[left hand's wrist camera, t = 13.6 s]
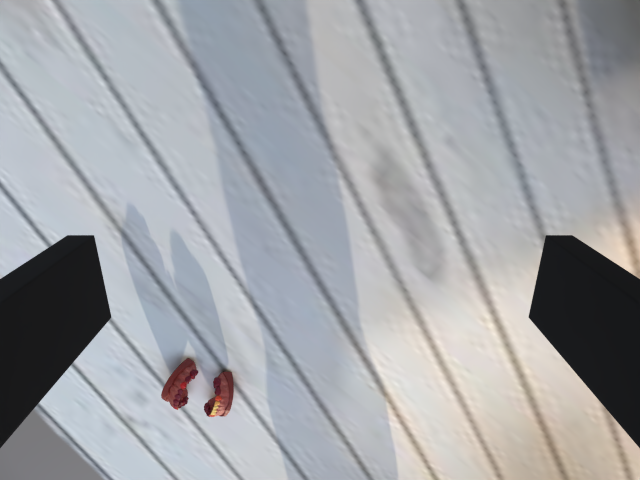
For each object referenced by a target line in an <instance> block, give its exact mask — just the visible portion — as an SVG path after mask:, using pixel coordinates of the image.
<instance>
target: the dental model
mask: <svg viewBox="0 0 640 480" xmlns="http://www.w3.org/2000/svg"><path fill="white" fill-rule="evenodd" d="M197 373H198V371H197V370H196V366H195V363H194V361H192V360H190V359H189V358H187V359H186V360H185V361H184V362H183V363H181V364H180V365H179V367H178V368H177V369H176V370H175V371H174V372H173V374H172V375H171V376H170V378H169V379H168V381H167V382H166V384H165V386H164V388H163V391H162V395H161V396H162V399H163V400H165V401H167V402H168V401H169V402H170V404H171V406H172V407H173V408H174V409H177V410H178V408H181V407H182V406H185V404H187V402H188V399H189V398H188V397H187V396H188V392H187V389H186V385H187V384H188V383H189V382H190V381H191V379H195V376H196V375H197ZM213 383H214V388H216V389H215V390H216V391H215V394H216V395H217V396H216V397H214V398H212V399H210V400H208V403H206V404H205V406H204V410H205V412H206V414H207V416H209V417H214V416H218V415H219V416H226V415H227V414H228V413H229V411H230V409H231V405H232V400H233V377H232V372H223V373H221V374H220V375H219V376H218V377H216V378H215V379H214V381H213Z"/></svg>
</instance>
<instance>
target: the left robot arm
mask: <svg viewBox="0 0 640 480" xmlns="http://www.w3.org/2000/svg"><path fill="white" fill-rule="evenodd" d="M110 318H111V313H110V309H109V304H108V299H107V295H106V290H105V285H104V280H103V276H102V271H101V266H100V261H99V257H98V252H97V247H96V243H95V238H94V235H68V236H66V237H64V238H63V239H61V240H60V241H58V242H57V243H55V244H54V245H52V246H51V247H49V248H48V249H46V250H44V251H43V252H41V253H40V254H38V255H37V256H35V257H34V258H32V259H31V260H29V261H28V262H26V263H24V264H23V265H21V266H20V267H18V268H17V269H15V270H14V271H12V272H11V273H9V274H8V275H6V276H4V277H3V278H1V279H0V448H1V447H2V445H3V444H4V443H5V442H6V441H7V439H8V438H9V437H10V436H11V435H12V434H13V432H14V431H15V430H16V429H17V428H18V427H19V425H20V424H21V423H22V422H23V421H24V419H25V418H26V417H27V416H28V415H29V414H30V412H31V411H32V410H33V409H34V408H35V407H36V405H37V404H38V403H39V402H40V401H41V399H42V398H43V397H44V396H45V395H46V394H47V392H48V391H49V390H50V389H51V388H52V387H53V385H54V384H55V383H56V382H57V381H58V379H59V378H60V377H61V376H62V375H63V374H64V372H65V371H66V370H67V369H68V368H69V367H70V365H71V364H72V363H73V362H74V361H75V359H76V358H77V357H78V356H79V355H80V354H81V352H82V351H83V350H84V349H85V348H86V346H87V345H88V344H89V343H90V342H91V341H92V339H93V338H94V337H95V336H96V335H97V334H98V332H99V331H100V330H101V329H102V328H103V326H104V325H105V324H106V323H107V322H108V321H109V319H110ZM529 318H530V319H531V321H532V322H533V323H534V324H535V325H536V326H537V328H538V329H539V330H540V331H541V332H542V334H543V335H544V336H545V337H546V338H547V339H548V341H549V342H550V343H551V344H552V345H553V346H554V348H555V349H556V350H557V351H558V352H559V354H560V355H561V356H562V357H563V358H564V359H565V361H566V362H567V363H568V364H569V365H570V367H571V368H572V369H573V370H574V371H575V372H576V374H577V375H578V376H579V377H580V378H581V379H582V381H583V382H584V383H585V384H586V385H587V387H588V388H589V389H590V390H591V391H592V392H593V394H594V395H595V396H596V397H597V398H598V399H599V401H600V402H601V403H602V404H603V405H604V407H605V408H606V409H607V410H608V411H609V412H610V414H611V415H612V416H613V417H614V418H615V419H616V421H617V422H618V423H619V424H620V425H621V427H622V428H623V429H624V430H625V431H626V432H627V434H628V435H629V436H630V437H631V438H632V440H633V441H634V442H635V443H636V444H637V445H638V447H639V448H640V279H639V278H637V277H636V276H634V275H632V274H631V273H629V272H628V271H626V270H625V269H623V268H622V267H620V266H619V265H617V264H616V263H614V262H612V261H611V260H609V259H608V258H606V257H605V256H603V255H602V254H600V253H599V252H597V251H596V250H594V249H592V248H591V247H589V246H588V245H586V244H585V243H583V242H582V241H580V240H579V239H577V238H575V237H574V236H572V235H546V238H545V243H544V247H543V252H542V257H541V261H540V266H539V271H538V276H537V280H536V285H535V290H534V295H533V299H532V304H531V309H530V313H529Z"/></svg>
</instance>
